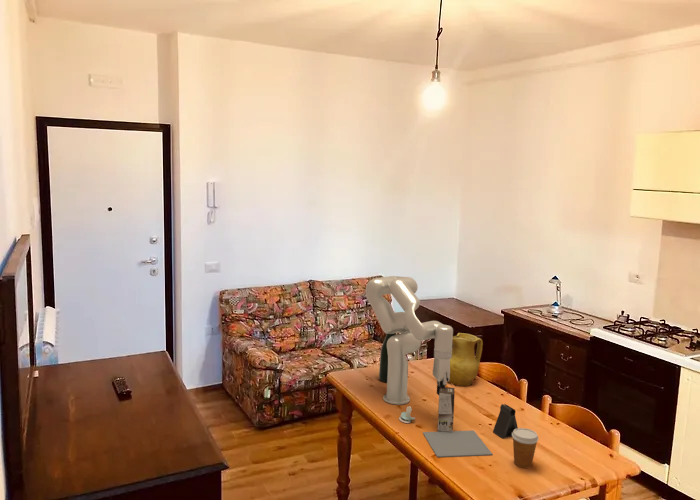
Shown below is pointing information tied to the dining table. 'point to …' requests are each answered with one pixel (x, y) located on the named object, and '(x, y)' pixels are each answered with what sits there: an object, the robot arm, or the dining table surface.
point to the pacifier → (406, 418)
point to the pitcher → (464, 359)
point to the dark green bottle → (384, 359)
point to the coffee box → (446, 409)
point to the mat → (456, 444)
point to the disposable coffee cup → (524, 446)
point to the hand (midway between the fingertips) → (440, 394)
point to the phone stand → (505, 422)
